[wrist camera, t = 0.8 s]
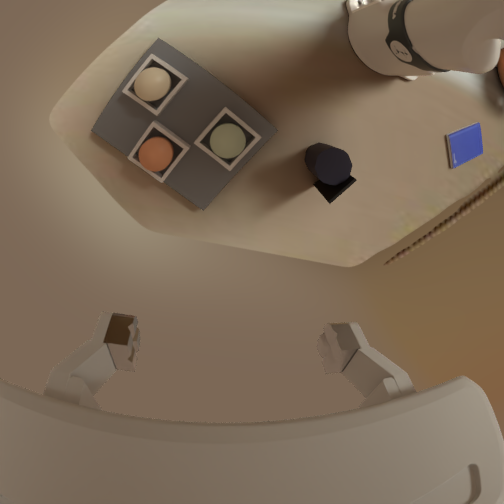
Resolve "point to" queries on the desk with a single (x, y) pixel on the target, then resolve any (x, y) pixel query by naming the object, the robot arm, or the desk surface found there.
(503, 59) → the ceramic jug
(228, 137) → the sage button
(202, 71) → the button console
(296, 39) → the desk surface
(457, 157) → the hard drive
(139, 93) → the sand button
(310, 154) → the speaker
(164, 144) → the terracotta button
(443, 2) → the robot arm
